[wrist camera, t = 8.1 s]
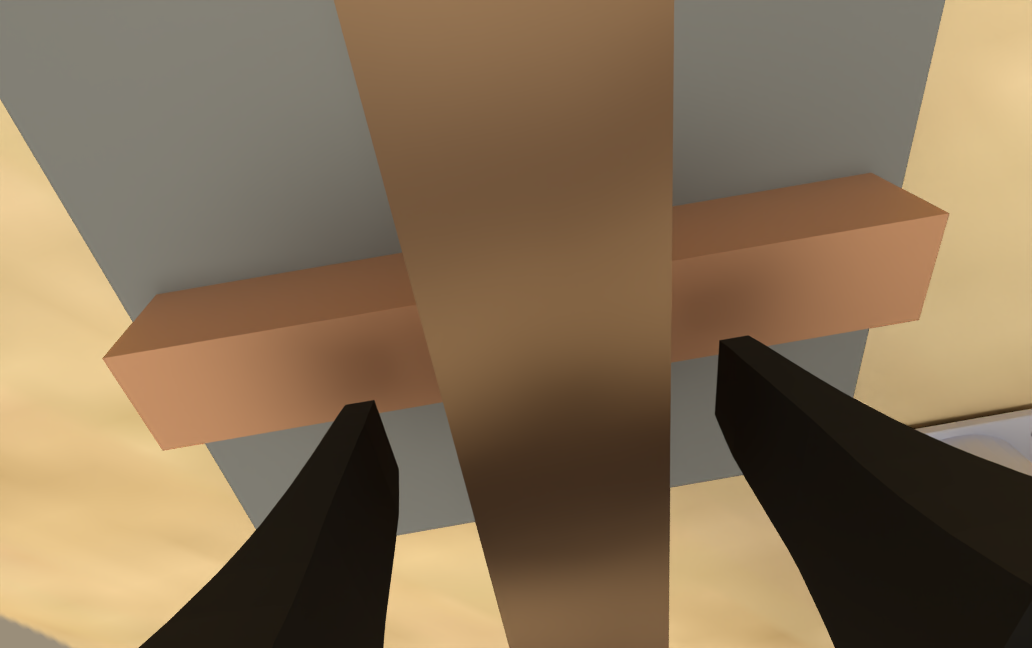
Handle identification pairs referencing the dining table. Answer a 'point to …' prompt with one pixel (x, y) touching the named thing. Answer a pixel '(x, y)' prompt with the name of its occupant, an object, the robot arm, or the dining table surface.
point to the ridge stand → (373, 237)
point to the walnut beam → (541, 284)
